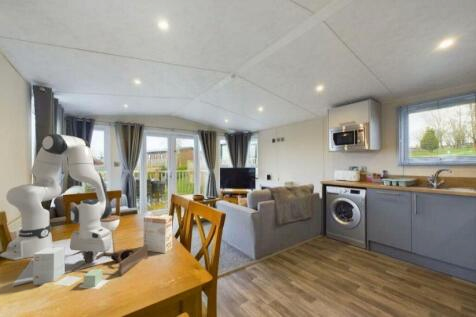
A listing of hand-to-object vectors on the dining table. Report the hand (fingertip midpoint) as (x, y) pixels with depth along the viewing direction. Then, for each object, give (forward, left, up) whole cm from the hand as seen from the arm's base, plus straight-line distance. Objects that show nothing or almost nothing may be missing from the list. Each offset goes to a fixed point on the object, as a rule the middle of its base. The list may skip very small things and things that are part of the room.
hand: (89, 259), depth 100 cm
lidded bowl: (-28, +45, -2) cm, 53 cm away
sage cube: (+17, -16, -1) cm, 24 cm away
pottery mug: (+18, +2, -2) cm, 18 cm away
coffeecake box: (+25, +20, -2) cm, 32 cm away
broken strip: (+11, -16, -2) cm, 20 cm away
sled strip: (+12, 0, -2) cm, 13 cm away
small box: (-5, -15, -2) cm, 16 cm away
